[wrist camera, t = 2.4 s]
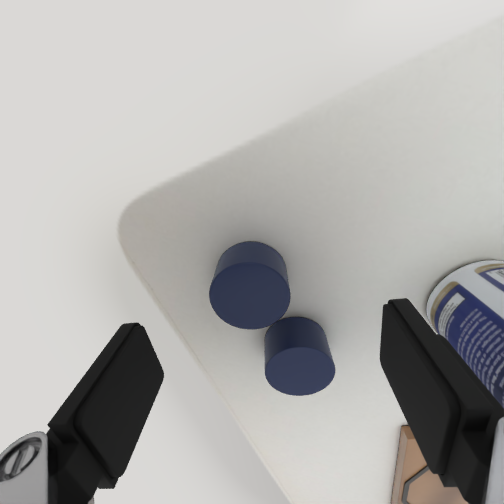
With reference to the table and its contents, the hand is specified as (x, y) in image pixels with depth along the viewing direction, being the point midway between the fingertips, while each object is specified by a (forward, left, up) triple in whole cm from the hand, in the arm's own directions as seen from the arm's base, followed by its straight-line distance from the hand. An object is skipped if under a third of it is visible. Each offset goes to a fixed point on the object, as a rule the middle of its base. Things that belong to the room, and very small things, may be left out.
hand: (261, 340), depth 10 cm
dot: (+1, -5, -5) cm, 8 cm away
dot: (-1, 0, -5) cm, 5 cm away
